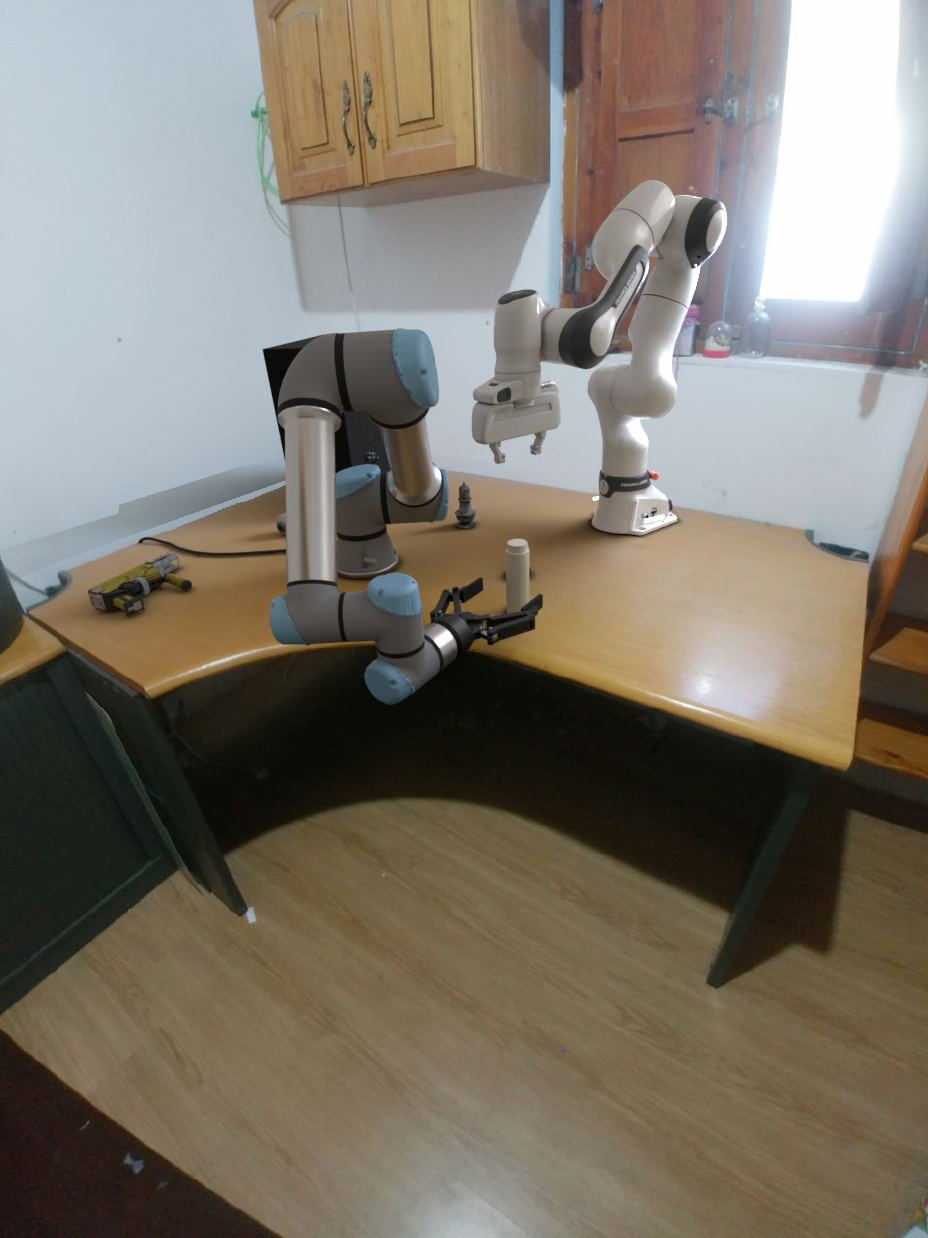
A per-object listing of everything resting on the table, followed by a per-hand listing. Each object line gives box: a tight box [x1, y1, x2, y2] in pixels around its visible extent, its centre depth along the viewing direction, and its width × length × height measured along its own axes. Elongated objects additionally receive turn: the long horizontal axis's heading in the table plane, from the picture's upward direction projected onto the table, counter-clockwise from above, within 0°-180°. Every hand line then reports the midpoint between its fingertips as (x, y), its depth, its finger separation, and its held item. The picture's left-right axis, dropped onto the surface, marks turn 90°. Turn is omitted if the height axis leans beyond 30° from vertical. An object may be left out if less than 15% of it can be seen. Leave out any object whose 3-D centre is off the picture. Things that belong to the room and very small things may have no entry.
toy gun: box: [87, 552, 193, 618], centre depth 137 cm, size 5×24×15 cm
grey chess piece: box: [454, 481, 477, 529], centre depth 161 cm, size 6×6×12 cm
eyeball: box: [275, 511, 286, 535], centre depth 163 cm, size 6×6×6 cm
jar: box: [504, 538, 530, 614], centre depth 118 cm, size 5×5×15 cm
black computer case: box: [262, 333, 391, 474], centre depth 181 cm, size 38×20×45 cm, turn 167°
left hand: (510, 591), depth 116 cm, fingers open, 13 cm apart
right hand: (518, 458), depth 123 cm, fingers open, 8 cm apart
